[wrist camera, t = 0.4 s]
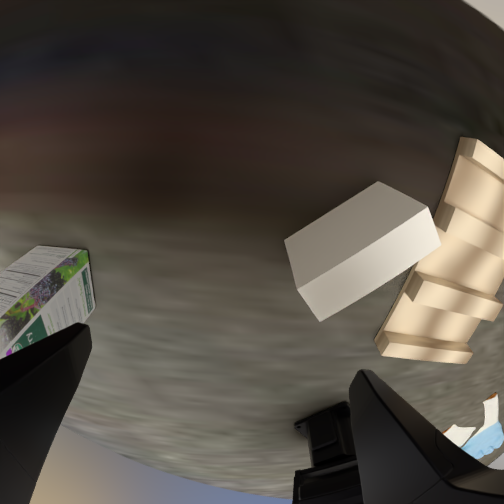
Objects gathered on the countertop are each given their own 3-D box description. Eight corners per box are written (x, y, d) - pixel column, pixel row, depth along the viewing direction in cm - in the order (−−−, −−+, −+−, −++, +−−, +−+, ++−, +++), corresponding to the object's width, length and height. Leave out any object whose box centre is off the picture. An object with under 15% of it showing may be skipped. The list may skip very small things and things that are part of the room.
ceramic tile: (392, 209, 21) (441, 245, 14) (301, 266, 22) (319, 322, 16) (377, 180, 20) (427, 206, 13) (284, 239, 22) (296, 289, 15)
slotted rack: (533, 191, 19) (547, 197, 17) (457, 351, 26) (465, 363, 24) (460, 136, 18) (477, 139, 16) (373, 339, 25) (381, 355, 23)
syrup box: (98, 308, 24) (16, 437, 11) (47, 299, 24) (-40, 403, 10) (89, 248, 22) (-28, 367, 8) (36, 243, 22) (-78, 337, 8)
